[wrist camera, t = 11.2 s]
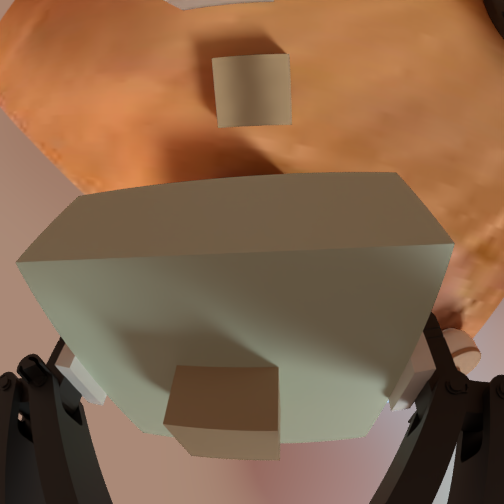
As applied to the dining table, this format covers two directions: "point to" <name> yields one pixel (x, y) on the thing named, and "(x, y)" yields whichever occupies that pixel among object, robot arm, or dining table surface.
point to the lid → (244, 303)
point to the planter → (207, 3)
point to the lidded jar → (462, 349)
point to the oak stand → (252, 90)
